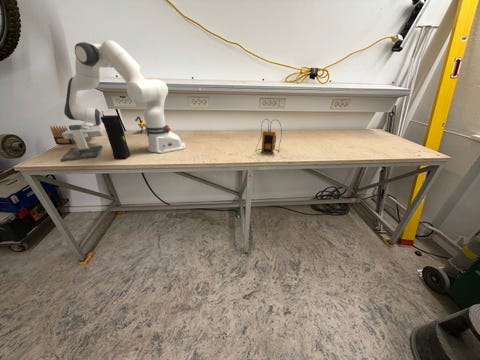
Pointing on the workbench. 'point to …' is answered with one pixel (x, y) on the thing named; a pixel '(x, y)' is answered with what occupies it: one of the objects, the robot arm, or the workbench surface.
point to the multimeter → (268, 140)
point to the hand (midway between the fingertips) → (80, 137)
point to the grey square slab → (81, 153)
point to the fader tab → (79, 137)
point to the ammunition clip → (59, 137)
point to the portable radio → (116, 136)
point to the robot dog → (141, 123)
